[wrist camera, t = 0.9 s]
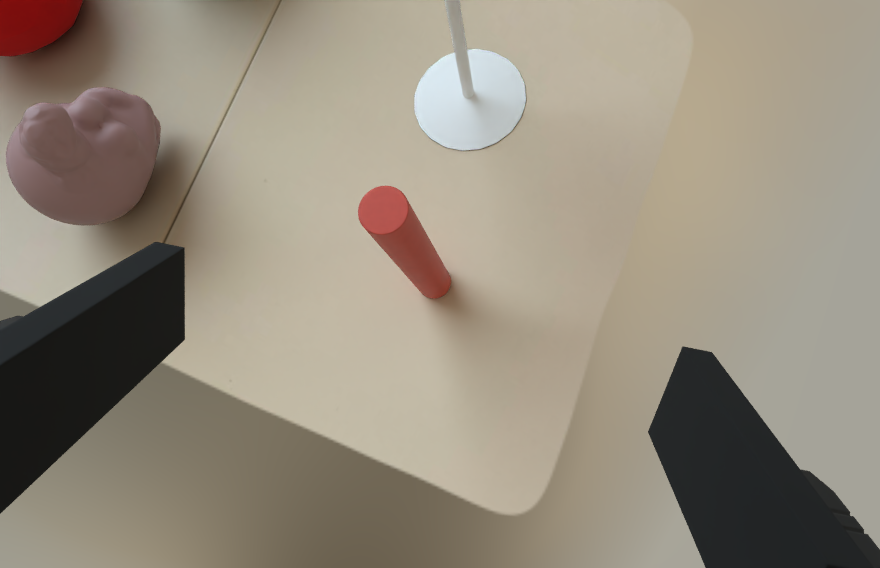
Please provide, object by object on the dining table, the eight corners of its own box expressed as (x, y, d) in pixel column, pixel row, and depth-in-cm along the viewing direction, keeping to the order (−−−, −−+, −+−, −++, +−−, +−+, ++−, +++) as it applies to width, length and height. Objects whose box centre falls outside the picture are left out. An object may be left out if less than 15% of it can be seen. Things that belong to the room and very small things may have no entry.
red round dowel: (452, 266, 40) (410, 185, 26) (449, 299, 40) (406, 235, 25) (419, 265, 40) (360, 185, 26) (416, 298, 40) (355, 234, 25)
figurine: (208, 143, 45) (99, 52, 34) (131, 258, 44) (-10, 205, 33) (130, 100, 48) (3, 1, 36) (54, 210, 46) (-103, 143, 35)
